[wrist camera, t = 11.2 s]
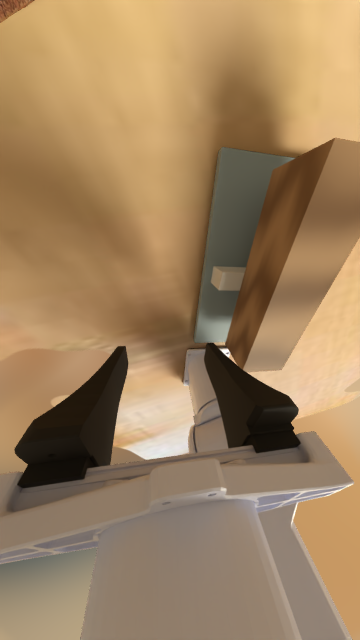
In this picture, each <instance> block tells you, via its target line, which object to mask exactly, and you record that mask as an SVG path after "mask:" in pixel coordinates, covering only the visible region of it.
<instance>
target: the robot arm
mask: <svg viewBox="0 0 360 640" xmlns="http://www.w3.org/2000/svg"><path fill="white" fill-rule="evenodd" d="M229 355H230V351H229V350H228V348H218V347H217V346H216V345H215V344H214V343H207V345H206V349H189V350H187V353H186V363H185V372H184V381H183V384H184V385H185V386H189V390H190V395H191V400H192V405H193V410H194V414H195V416H193V417H194V423H195V425H193V426H192V427H191V428H190V432H189V437H188V447H189V454H185V455H178V456H171V457H164V458H157V459H150V460H143V461H137V462H129V463H122V464H115V465H110V462H111V454H112V446H113V439H114V432H115V425H116V418H117V412H118V407H119V402H120V398H121V394H122V390H123V387H124V383H125V379H126V375H127V369H128V358H127V352H126V346H118V347H117V348H116V349H115V351H114V352H113V353H112V354H111V356H110V357H109V358H108V359H107V361H106V362H105V363H104V364H103V365H102V366H101V368H100V369H99V370H98V371H97V372H96V373H95V374H94V375H93V376H92V377H91V378H90V379H89V380H88V381H87V382H86V383H85V384H83V385H82V386H81V387H80V388H79V389H78V390H76V391H75V392H74V393H73V394H71V395H70V396H69V397H68V398H66V399H65V400H63V401H62V402H61V403H59V404H58V405H56V406H55V407H54V408H52V409H51V410H49V411H47V412H46V413H45V414H43V415H41V416H40V417H38V418H37V419H35V420H33V422H32V423H31V425H30V426H29V427H28V429H27V430H26V432H25V434H24V435H23V437H22V438H21V440H20V441H19V443H18V444H17V446H16V448H15V454H16V455H17V456H18V457H19V458H20V459H22V460H23V461H24V462H25V463H27V464H28V466H27V468H26V470H25V471H24V473H23V472H10V473H3V474H0V564H3V563H8V562H13V561H19V560H25V559H30V558H36V557H42V556H48V555H54V554H60V553H66V552H71V551H77V550H83V549H89V548H95V547H97V553H96V558H95V564H94V568H93V574H92V579H91V585H90V590H89V595H88V600H87V606H86V611H85V616H84V622H83V627H82V633H81V637H80V640H352V638H351V636H350V634H349V632H348V630H347V628H346V626H345V624H344V622H343V620H342V618H341V616H340V614H339V612H338V610H337V608H336V606H335V604H334V602H333V600H332V598H331V596H330V594H329V592H328V590H327V588H326V586H325V584H324V582H323V580H322V578H321V576H320V574H319V572H318V570H317V568H316V566H315V564H314V562H313V560H312V558H311V556H310V554H309V552H308V550H307V548H306V546H305V544H304V542H303V540H302V538H301V536H300V534H299V532H298V530H297V528H296V526H295V524H294V522H293V518H294V515H295V511H296V508H297V505H298V502H302V501H306V500H311V499H315V498H320V497H324V496H329V495H331V494H333V493H335V492H337V491H340V490H342V489H344V488H346V487H348V486H350V485H353V484H354V481H353V480H352V479H351V477H350V476H349V475H348V474H347V472H346V471H345V470H344V468H343V467H342V466H341V464H340V463H339V462H338V461H337V459H336V458H335V457H334V455H333V454H332V453H331V452H330V450H329V449H328V448H327V446H326V445H325V444H324V443H323V441H322V440H321V439H320V438H319V436H318V435H317V434H316V432H314V431H313V432H304V433H299V434H297V435H295V433H294V432H293V429H294V427H293V426H292V424H291V422H292V420H293V419H294V418H295V417H296V416H297V414H298V411H299V409H298V407H297V406H296V405H295V404H294V402H293V401H292V400H291V398H290V397H289V396H288V395H286V394H283V393H281V392H279V391H277V390H275V389H273V388H271V387H269V386H268V385H266V384H264V383H262V382H260V381H259V380H257V379H256V378H254V377H252V376H251V375H249V374H248V373H247V372H245V371H244V370H243V369H241V368H240V367H239V366H237V365H236V364H235V363H234V362H233V361H232V360H230V359H229Z"/></svg>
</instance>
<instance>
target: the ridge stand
mask: <svg viewBox="0 0 360 640" xmlns="http://www.w3.org/2000/svg"><path fill="white" fill-rule="evenodd" d="M293 159H295V158H291V157H285V156H278V155H272V154H265V153H259V152H252V151H246V150H239V149H232V148H226V147H222V148H221V149H220V150H219V152H218V158H217V166H216V173H215V181H214V188H213V196H212V204H211V211H210V219H209V226H208V234H207V241H206V249H205V256H204V264H203V271H202V279H201V287H200V294H199V302H198V309H197V317H196V324H195V332H194V342H195V343H206V342H226V339H227V335H228V332H229V328H230V324H231V321H232V317H233V313H234V310H235V306H236V302H237V299H238V295H239V291H240V288H241V284H242V280H243V277H244V273H245V270H246V266H247V262H248V259H249V255H250V251H251V248H252V244H253V240H254V237H255V233H256V229H257V226H258V222H259V218H260V215H261V211H262V207H263V204H264V200H265V197H266V193H267V189H268V186H269V182H270V178H271V175H272V171H273V169H275V168H277V167H279V166H281V165H283V164H285V163H287V162H289V161H291V160H293Z"/></svg>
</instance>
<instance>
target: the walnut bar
mask: <svg viewBox="0 0 360 640" xmlns="http://www.w3.org/2000/svg"><path fill="white" fill-rule="evenodd" d="M359 237H360V142H356V141H350V140H345V139H339V138H334V139H332V140H330V141H328V142H326V143H324V144H322V145H320V146H318V147H316V148H314V149H313V150H311V151H309V152H307V153H305V154H303V155H301V156H299V157H297V158H295V159H293V160H291V161H289V162H287V163H285V164H283V165H281V166H279V167H277V168H275V169H273V171H272V175H271V178H270V182H269V186H268V189H267V193H266V197H265V200H264V204H263V207H262V211H261V215H260V218H259V222H258V226H257V229H256V233H255V237H254V240H253V244H252V248H251V251H250V255H249V259H248V262H247V266H246V270H245V273H244V277H243V280H242V284H241V288H240V291H239V295H238V299H237V302H236V306H235V310H234V313H233V317H232V321H231V324H230V328H229V332H228V335H227V339H226V343H225V345H226V346H227V348H228V350H229V351H230V353H231V355H232V357H233V358H234V360H235V362H236V363H237V365H238V366H239V367H240V368H241V369H243V370H244V371H245V372H259V371H274V370H282V368H283V367H284V365H285V363H286V362H287V360H288V358H289V356H290V355H291V353H292V351H293V350H294V348H295V346H296V345H297V343H298V341H299V339H300V338H301V336H302V334H303V333H304V331H305V329H306V328H307V326H308V324H309V322H310V321H311V319H312V317H313V316H314V314H315V312H316V311H317V309H318V307H319V305H320V304H321V302H322V300H323V299H324V297H325V295H326V294H327V292H328V290H329V288H330V287H331V285H332V283H333V282H334V280H335V278H336V276H337V275H338V273H339V271H340V270H341V268H342V266H343V265H344V263H345V261H346V259H347V258H348V256H349V254H350V253H351V251H352V249H353V248H354V246H355V244H356V242H357V241H358V239H359Z"/></svg>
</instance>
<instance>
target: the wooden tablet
mask: <svg viewBox="0 0 360 640" xmlns="http://www.w3.org/2000/svg"><path fill="white" fill-rule="evenodd" d="M32 1H34V0H0V23H1V22H2V21H4V20H5V19H7V18H8V17H9V16H11V15H12V14H14V13H15V12H17V11H19V10H21V9H22V8H25V7H26V6H27V5H28V4H30V3H31V2H32Z"/></svg>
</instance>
